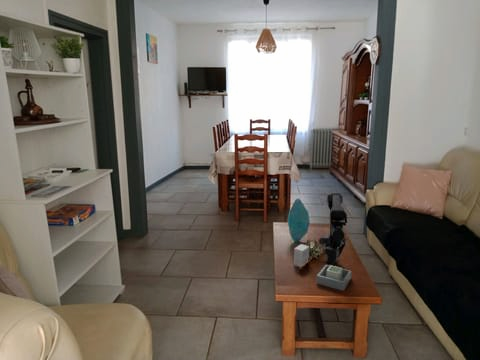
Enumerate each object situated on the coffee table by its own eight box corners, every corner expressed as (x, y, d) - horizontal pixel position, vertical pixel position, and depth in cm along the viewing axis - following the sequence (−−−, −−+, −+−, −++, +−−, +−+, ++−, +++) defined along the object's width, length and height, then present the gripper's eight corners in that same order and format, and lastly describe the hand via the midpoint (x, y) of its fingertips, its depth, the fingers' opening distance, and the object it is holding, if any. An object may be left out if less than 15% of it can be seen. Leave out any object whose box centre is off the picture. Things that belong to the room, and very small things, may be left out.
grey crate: (325, 271, 197) (325, 264, 196) (350, 278, 190) (351, 270, 189) (316, 283, 186) (316, 275, 185) (343, 290, 179) (343, 282, 178)
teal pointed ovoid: (309, 245, 231) (311, 201, 224) (288, 245, 231) (289, 201, 224) (306, 237, 243) (308, 195, 235) (286, 238, 243) (287, 195, 236)
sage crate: (329, 275, 192) (330, 265, 191) (341, 278, 189) (342, 268, 188) (326, 280, 187) (326, 270, 186) (338, 283, 184) (338, 273, 182)
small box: (300, 260, 212) (301, 243, 209) (309, 262, 208) (309, 246, 206) (293, 265, 206) (293, 248, 203) (302, 268, 202) (302, 251, 200)
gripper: (327, 224, 193) (325, 250, 197) (315, 236, 178) (313, 264, 182) (347, 228, 188) (346, 255, 191) (337, 240, 172) (335, 270, 176)
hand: (335, 260), depth 185 cm, fingers open, 9 cm apart
